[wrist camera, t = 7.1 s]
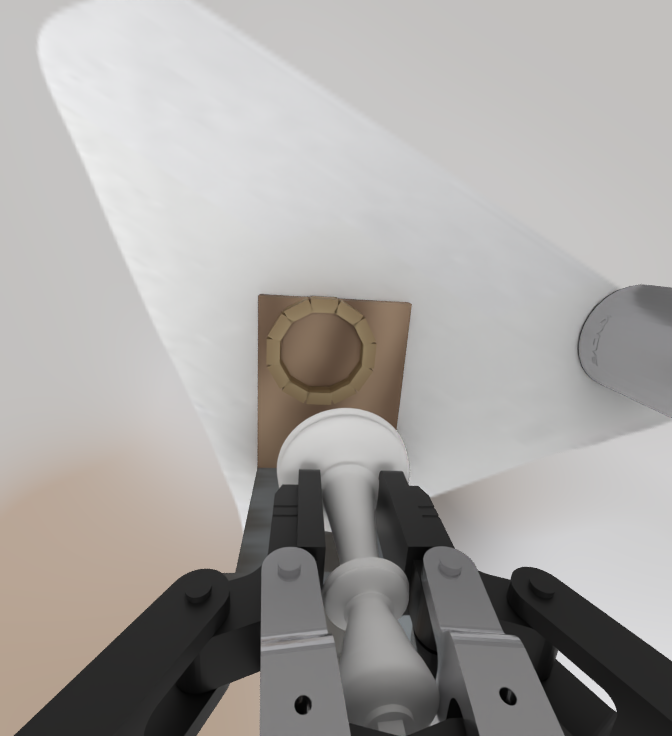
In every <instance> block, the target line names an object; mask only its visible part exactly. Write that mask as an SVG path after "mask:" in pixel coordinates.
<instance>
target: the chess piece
mask: <svg viewBox="0 0 672 736" xmlns="http://www.w3.org/2000/svg"><path fill="white" fill-rule="evenodd" d="M299 469H319V470H320V473H321V487H322V501H323V515H324V529H325V531H328V532H332V534H333V537H334V541H335V545H336V549H337V552H338V556H339V561H340V566H339V567H337V568H336V569H335V570H334V571H333V572H332V573H331V574H330V575H329V576H328V577H327V579H326V581H325V582H324V585H323V588H322V593H321V595H322V601H323V607H324V609H325V611H326V614H327V616H328V618H329V619H330V621H331V622H332V623H333V624H334V625H336V626H337V627H339V628H340V629H342V630H345V634H344V638H343V644H342V653H341V658H340V663H339V671H340V676H341V682H342V688H343V693H344V699H345V705H346V711H347V716H348V722H349V723H352V724H355V725H359V726H363V727H367V728H371V729H375V730H378V731H382V732H386V733H390V734H394V735H397V736H407V735H410V734H412V733H415V732H417V731H419V730H422V729H424V728H427V727H429V726H430V724H431V723H432V721H433V720H434V718H435V716H436V714H437V711H438V708H439V701H440V695H439V690H438V686H437V684H436V681H435V679H434V677H433V675H432V674H431V672H430V670H429V668H428V667H427V665H426V664H425V662H424V660H423V659H422V658H421V656H420V655H419V654H418V653H417V652H416V650H415V649H414V647H413V646H412V644H411V643H410V641H409V639H408V638H407V636H406V633H405V631H404V630H403V628H402V626H401V625H400V623H399V622H398V621H397V620H398V619H399V618H400V617H401V616H402V615H403V613H404V612H405V610H406V608H407V606H408V602H409V582H408V579H407V576H406V575H405V573H404V572H403V570H402V569H401V568H400V567H399V566H397V565H396V564H395V563H393V562H391V561H389V560H386V559H383V558H379V552H378V545H377V534H376V522H375V509H376V506H377V499H378V490H379V479H378V478H379V473H380V471H403V473H404V475H405V478H406V480H407V482H409V476H410V467H409V460H408V456H407V451H406V447H405V444H404V442H403V440H402V438H401V436H400V435H399V433H398V432H397V431H396V429H395V428H394V427H393V426H392V425H391V424H390V423H388V422H387V421H386V420H384V419H383V418H381V417H380V416H378V415H376V414H373V413H371V412H368V411H365V410H361V409H354V408H337V409H331V410H327V411H323V412H320V413H318V414H315V415H313V416H311V417H309V418H308V419H306V420H305V421H303V422H302V423H300V424H299V425H298V426H297V427H296V428H295V429H294V430H293V431H292V432H291V433H290V434H289V436H288V437H287V438H286V440H285V442H284V443H283V445H282V447H281V450H280V453H279V456H278V461H277V478H278V484H279V488H280V487H281V485H282V484H294V485H298V476H299Z"/></svg>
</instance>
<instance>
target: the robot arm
mask: <svg viewBox="0 0 672 736" xmlns="http://www.w3.org/2000/svg"><path fill="white" fill-rule="evenodd" d="M579 357H580V361H581V364H582V367H583V368H584V370H585V372H586V373H587V374H588V375H589V376H590V377H591V378H592V379H593V380H594V381H596V382H598V383H600V384H601V385H604V386H606V387H608V388H610V389H612V390H614V391H616V392H618V393H620V394H623V395H625V396H627V397H629V398H631V399H633V400H635V401H637V402H639V403H641V404H643V405H645V406H647V407H650V408H652V409H654V410H656V411H658V412H660V413H662V414H664V415H666V416H669V417H671V418H672V288H670V287H661V286H652V285H635V286H629V287H626V288H623V289H621V290H618V291H616V292H615V293H613V294H611V295H610V296H608V297H607V298H606V299H604V300H603V301H602V302H601V303H600V304H599V305H598V306H597V307H596V308H595V309H594V310H593V312H592V313H591V314H590V316H589V317H588V319H587V321H586V323H585V324H584V327H583V330H582V333H581V335H580V341H579ZM378 479H379V490H378V499H377V506H376V509H375V522H376V530H377V534H378V538H379V542H380V546H381V550H382V554H383V558H384V559H386V560H389V561H391V562H393V563H395V564H396V565H397V566H399V567H400V568H401V569H402V570H403V572H404V573H405V575H406V576H407V579H408V582H409V602H408V606H407V608H406V610H405V612H404V613H403V615H410V618H411V621H412V630H411V638H410V639H411V644H412V646H413V647H414V649H415V650H416V652H417V653H418V654H419V655H420V656H421V658H422V659H423V660H424V662H425V664H426V665H427V667H428V668H429V670H430V672H431V674H432V675H433V677H434V679H435V681H436V684H437V686H438V690H439V695H440V701H439V708H438V711H437V714H436V716H435V718H434V720H433V721H432V723H431V724H430V726H429V727H427V728H424V729H422V730H419V731H417V732H415V733H412V734H410V735H407V736H672V661H671V660H669V659H668V658H667V657H665V656H664V655H662V654H661V653H659V652H658V651H657V650H656V649H654V648H653V647H651V646H650V645H649V644H647V643H646V642H644V641H643V640H642V639H640V638H639V637H637V636H636V635H635V634H633V633H632V632H631V631H629V630H628V629H626V628H625V627H623V626H622V625H621V624H620V623H618V622H617V621H615V620H614V619H612V618H611V617H610V616H608V615H607V614H606V613H604V612H603V611H601V610H600V609H599V608H597V607H596V606H594V605H593V604H592V603H590V602H589V601H588V600H586V599H585V598H583V597H582V596H581V595H579V594H578V593H576V592H575V591H574V590H572V589H571V588H570V587H568V586H567V585H565V584H564V583H563V582H561V581H560V580H558V579H557V578H556V577H554V576H552V575H551V574H549V573H547V572H545V571H543V570H540V569H537V568H533V567H521V568H518V569H516V570H515V571H513V573H512V576H511V580H508V579H505V578H501V577H497V576H492V575H489V574H485V573H483V572H480V571H478V570H477V568H476V566H475V564H474V563H473V562H472V560H471V559H470V558H469V557H468V556H467V555H465V554H464V553H462V552H461V551H459V550H457V549H455V548H454V546H453V544H452V542H451V540H450V538H449V536H448V534H447V532H446V530H445V528H444V526H443V524H442V522H441V519H440V518H439V517H438V513H437V511H436V510H435V509H434V505H433V503H432V501H431V499H430V497H429V495H428V494H426V493H425V492H424V491H423V490H422V489H421V488H420V487H419V486H409V485H408V482H407V480H406V478H405V475H404V473H403V471H380V473H379V478H378ZM325 551H326V543H325V529H324V515H323V501H322V487H321V473H320V470H319V469H299V476H298V485H294V484H282V485H281V487H280V488H279V489H278V491H277V492H276V493H275V497H274V505H273V514H272V522H271V531H270V540H269V548H268V554H267V557H266V558H265V560H264V561H263V564H262V565H261V566H260V567H259V568H258V569H257V570H255V571H254V572H252V573H250V574H248V575H246V576H243V577H240V578H237V579H233V580H230V581H228V579H227V577H226V576H225V575H224V574H223V573H221V572H219V571H217V570H213V569H199V570H195V571H192V572H189V573H187V574H185V575H183V576H182V577H180V578H179V579H178V580H177V581H176V582H174V583H173V584H172V585H171V586H170V587H169V588H168V589H167V590H166V591H165V592H164V593H163V594H162V595H161V596H160V597H159V598H158V599H157V600H155V601H154V602H153V603H152V604H151V605H150V606H149V607H148V608H147V609H146V610H145V611H144V612H143V613H142V614H141V615H140V616H139V617H138V618H137V619H136V620H135V621H133V622H132V624H130V625H129V626H128V627H127V628H126V629H125V630H124V631H123V632H122V633H121V634H120V635H119V636H118V637H117V638H116V639H115V640H114V641H113V642H111V643H110V645H108V646H107V647H106V648H105V649H104V650H103V651H102V652H101V653H100V654H99V655H98V656H97V657H96V658H95V659H94V660H93V661H92V662H91V663H89V664H88V665H87V666H86V667H85V668H84V669H83V670H82V671H81V672H80V673H79V674H78V675H77V676H76V677H75V678H74V679H73V680H72V681H71V682H70V683H69V684H67V685H66V686H65V688H63V689H62V690H61V691H60V692H59V693H58V694H57V695H56V696H55V697H54V698H53V699H52V700H51V701H50V702H49V703H48V704H47V705H45V706H44V707H43V708H42V709H41V710H40V711H39V712H38V713H37V714H36V715H35V716H34V717H33V718H32V719H31V720H30V721H29V722H28V723H27V724H26V725H25V726H24V727H22V728H21V729H20V731H18V732H17V733H16V734H15V735H14V736H196V735H197V734H198V733H199V731H200V730H201V728H202V726H203V725H204V724H205V722H206V720H207V719H208V718H209V716H210V714H211V713H212V711H213V710H214V709H215V707H216V706H217V704H218V703H219V701H220V700H221V698H222V696H223V695H224V693H225V692H226V690H227V688H228V686H229V684H230V683H231V682H233V681H236V680H239V679H241V678H244V677H246V676H249V675H251V674H254V673H257V672H259V671H260V672H261V673H260V736H397V735H394V734H390V733H386V732H382V731H378V730H375V729H371V728H367V727H363V726H359V725H355V724H352V723H349V722H348V716H347V711H346V705H345V699H344V693H343V688H342V682H341V676H340V671H339V665H338V659H337V653H336V648H335V642H334V638H333V635H332V634H331V633H328V631H327V626H326V620H325V613H324V607H323V601H322V595H321V593H322V588H323V579H324V565H325ZM403 615H402V616H403ZM558 650H559V651H560V652H561V653H562V654H563V655H565V656H566V657H567V658H568V659H569V660H571V661H572V662H573V663H574V664H575V665H576V666H577V667H579V668H580V669H581V670H582V671H583V672H584V673H586V674H587V675H588V676H589V677H590V678H591V679H592V680H594V681H595V682H596V683H597V684H598V685H599V686H600V687H602V688H603V689H604V690H605V691H606V692H607V693H608V695H609V696H610V697H611V699H612V700H613V702H614V704H615V706H616V710H617V712H616V711H614V710H613V709H611V708H610V707H609V706H608V705H607V704H606V703H604V702H603V701H602V700H601V699H600V698H599V697H598V696H597V695H596V694H594V693H593V692H592V691H591V690H590V689H589V688H588V687H587V686H585V685H584V684H583V683H582V682H581V681H580V680H579V679H578V678H576V677H575V676H574V675H573V674H572V673H571V672H570V671H568V670H567V669H566V668H565V667H564V666H563V665H562V664H561V663H560V662H558V661H557V660H556V655H557V652H558Z"/></svg>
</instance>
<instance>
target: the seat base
mask: <svg viewBox="0 0 672 736" xmlns="http://www.w3.org/2000/svg"><path fill="white" fill-rule="evenodd" d="M411 306H412V304H410V303H409V302H391V301H373V300H355V299H337V298H336V297H318V296H311V297H301V296H283V295H265V294H260V295H259V296H258V468H257V473H256V477H255V482H254V487H253V492H252V496H251V501H250V506H249V511H248V515H247V520H246V525H245V530H244V534H243V539H242V544H241V549H240V554H239V559H238V563H237V568H236V572H235V573H223V574H224V575H225V576H226V577H227V579H228V581H230V580H233V579H237V578H240V577H243V576H246V575H248V574H250V573H252V572H254V571H255V570H257V569H258V568H259V567H260V566H261V565H262V564H263V561H264V560H265V558H266V557H267V554H268V548H269V540H270V531H271V522H272V514H273V505H274V497H275V493H276V492H277V491H278V489H279V484H278V478H277V461H278V456H279V453H280V450H281V447H282V445H283V443H284V442H285V440H286V438H287V437H288V436H289V434H290V433H291V432H292V431H293V430H294V429H295V428H296V427H297V426H298V425H299V424H300V423H302V422H303V421H305V420H306V419H308V418H309V417H311V416H313V415H315V414H318V413H320V412H323V411H327V410H331V409H337V408H354V409H361V410H365V411H368V412H371V413H373V414H376V415H378V416H380V417H381V418H383V419H384V420H386V421H387V422H388V423H390V424H391V425H392V426H393V427H394V428H395V429H397V420H398V412H399V404H400V396H401V388H402V380H403V371H404V363H405V355H406V347H407V339H408V331H409V322H410V314H411ZM376 534H377V530H376ZM325 543H326V551H325V565H324V579H323V585H324V582H325V581H326V579H327V577H328V576H329V575H330V574H331V573H332V572H333V571H334V570H335V569H336V568H337V567H339V566H340V561H339V556H338V552H337V549H336V545H335V541H334V537H333V534H332V532H328V531H325ZM377 545H378V552H379V558H383V554H382V550H381V546H380V542H379V538H378V534H377ZM383 559H384V558H383ZM324 613H325V620H326V626H327V631H328V633H331V634H332V635H333V638H334V642H335V648H336V653H337V659H338V665H339V663H340V658H341V653H342V644H343V638H344V634H345V630H342V629H340V628H339V627H337V626H336V625H334V624H333V623H332V622H331V621H330V619H329V618H328V616H327V614H326V611H325V609H324ZM397 621H398V622H399V623H400V625H401V626H402V628H403V630H404V631H405V633H406V636H407V638H408V639H409V641H410V643H411V639H410V638H411V630H412V621H411V618H410V615H403V616H401V617H400V618H399V619H398V620H397Z"/></svg>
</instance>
